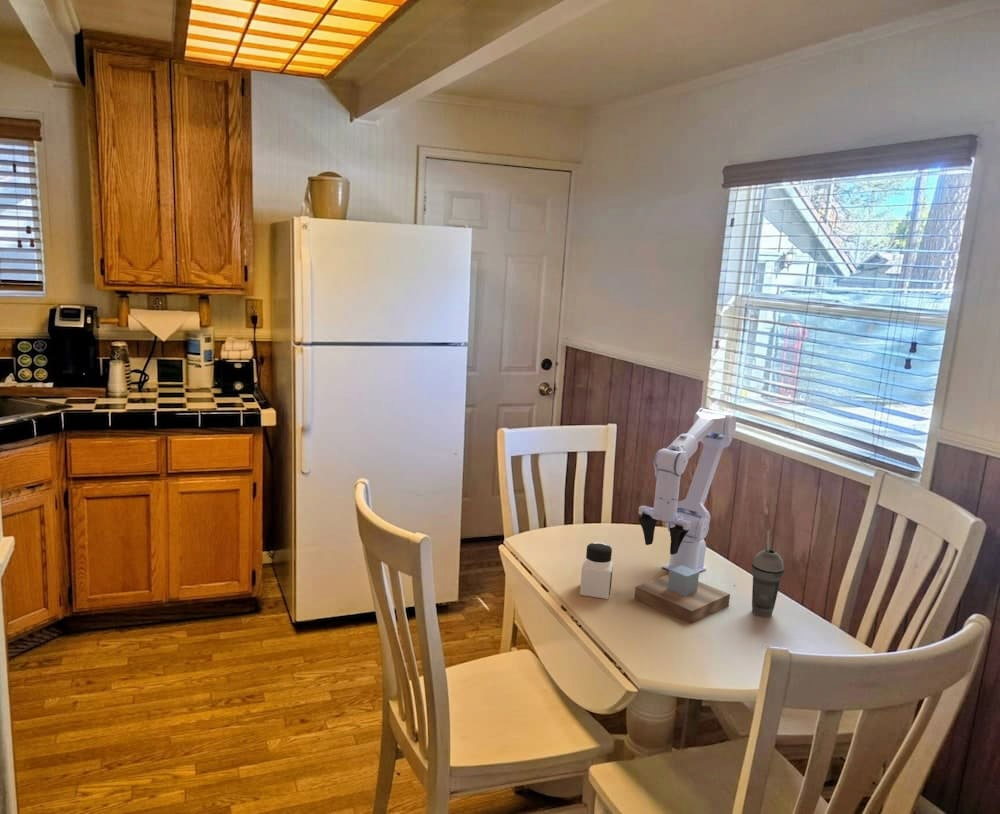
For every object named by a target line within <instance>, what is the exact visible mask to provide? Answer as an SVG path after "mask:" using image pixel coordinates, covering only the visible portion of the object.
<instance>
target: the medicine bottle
mask: <svg viewBox="0 0 1000 814" xmlns="http://www.w3.org/2000/svg"><path fill="white" fill-rule="evenodd" d="M612 553H613V548H612V546H610V545H609V544H606V543H604V542H599V541H597V542H591V543H589V544H587V546H586V553H585V554H586V555H585V558H584V559H583V563H582V567H581V576H580V586H579V587H580V588H579V595H580V596H585V597H592V598H596V599H597V598H598V599H605V600H609V599H610V595H611V591H612V590H611V589H612V581H613V571H614V570H613V569H614V561H612Z"/></svg>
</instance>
